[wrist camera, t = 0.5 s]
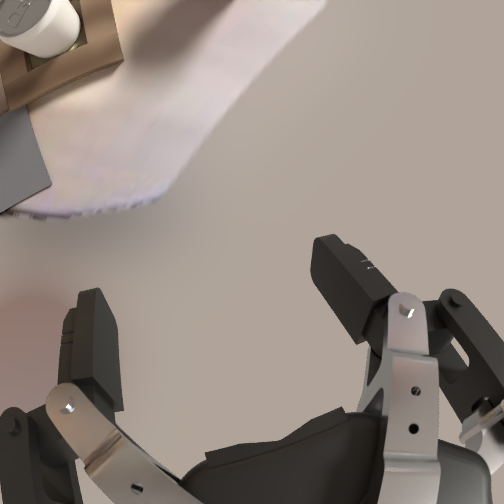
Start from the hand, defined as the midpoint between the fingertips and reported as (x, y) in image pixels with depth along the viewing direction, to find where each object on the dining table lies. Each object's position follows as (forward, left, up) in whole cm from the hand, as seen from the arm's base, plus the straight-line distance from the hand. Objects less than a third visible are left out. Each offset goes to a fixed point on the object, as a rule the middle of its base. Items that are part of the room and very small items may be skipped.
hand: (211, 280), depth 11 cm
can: (-19, -8, -27) cm, 34 cm away
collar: (-19, -8, -27) cm, 34 cm away
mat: (-7, -19, -27) cm, 33 cm away
